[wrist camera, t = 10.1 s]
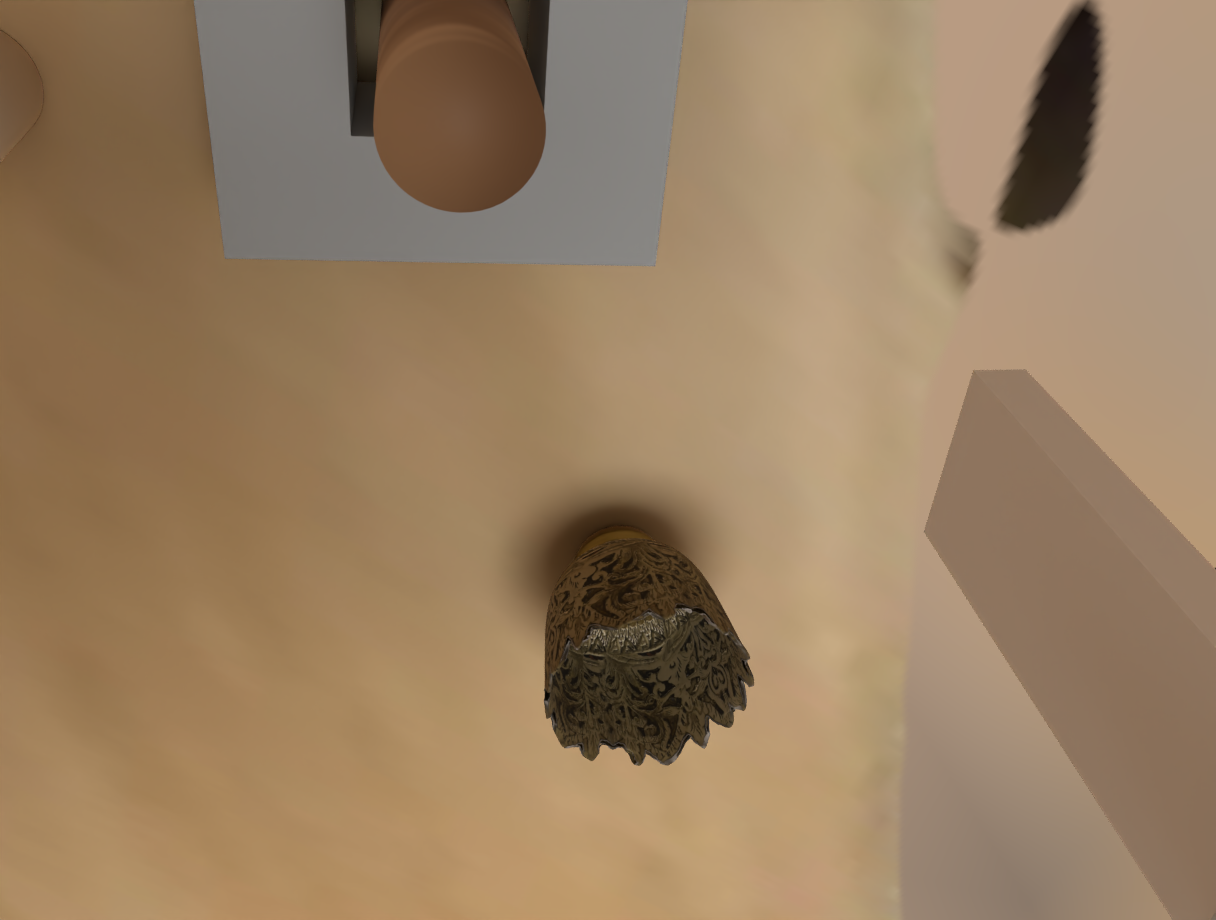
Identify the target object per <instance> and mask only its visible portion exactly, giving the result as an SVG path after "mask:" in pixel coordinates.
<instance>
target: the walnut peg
mask: <svg viewBox="0 0 1216 920" xmlns="http://www.w3.org/2000/svg"><path fill="white" fill-rule="evenodd" d="M373 131H374V140H375V144H376V148H377V151H378V154H379V157H380V159H381V162H382V163H383V165H384V167H385V169H386V171H387V172H388V174H389V175H390V176H391V178H392V179H393V180H394V181H395V183H396V184H397V185H398V186H399V187H400V188H401V189H402V190H404V191H405V192H406V193H407V194H408V195H410V196H411V197H413V198H414V199H416V200H417V201H419V202H421V203H423V204H425V205H427V206H430V207H433V208H435V209H438V210H443V211H448V212H457V213H466V212H476V211H482V210H485V209H488V208H492V207H494V206H496V205H499V204H501V203H503V202H504V201H506V200H508V199H509V198H511V197H512V196H513V195H515V194H516V193H517V192H519V191H520V190H521V189H522V187H523V186H524V185H525V184H526V183H527V182H528V181H529V179H530V178H531V177H532V175H533V174H534V172H535V170H536V168H537V167H538V164H539V162H540V159H541V157H542V154H543V150H544V146H545V139H546V120H545V113H544V109H543V106H542V102H541V99H540V96H539V93H538V90H537V88H536V85H535V82H534V79H533V76H532V73H531V70H530V67H529V65H528V62H527V59H526V56H525V53H524V50H523V47H522V45H521V42H520V39H519V36H518V33H517V30H516V27H515V24H514V22H513V19H512V16H511V13H510V10H509V7H508V4H507V2H506V0H382V8H381V21H380V35H379V49H378V62H377V76H376V90H375V103H374V118H373Z"/></svg>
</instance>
